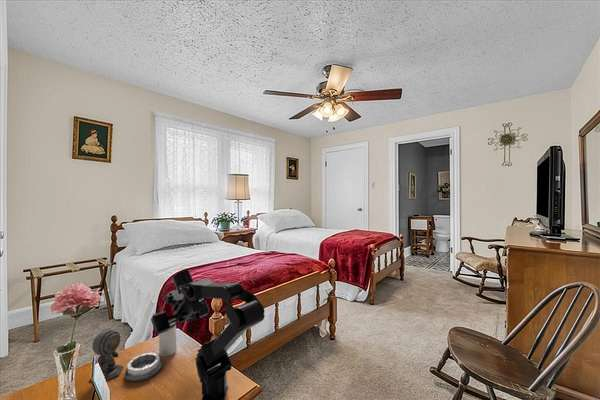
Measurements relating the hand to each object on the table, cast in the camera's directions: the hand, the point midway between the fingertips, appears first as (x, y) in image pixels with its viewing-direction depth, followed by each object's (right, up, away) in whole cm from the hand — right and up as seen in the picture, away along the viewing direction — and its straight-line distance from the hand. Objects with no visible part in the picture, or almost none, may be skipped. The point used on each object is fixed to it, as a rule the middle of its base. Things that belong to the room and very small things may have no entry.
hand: (174, 325), depth 100 cm
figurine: (-19, -13, -8) cm, 25 cm away
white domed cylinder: (-5, -12, +5) cm, 14 cm away
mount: (-8, -13, -6) cm, 16 cm away
